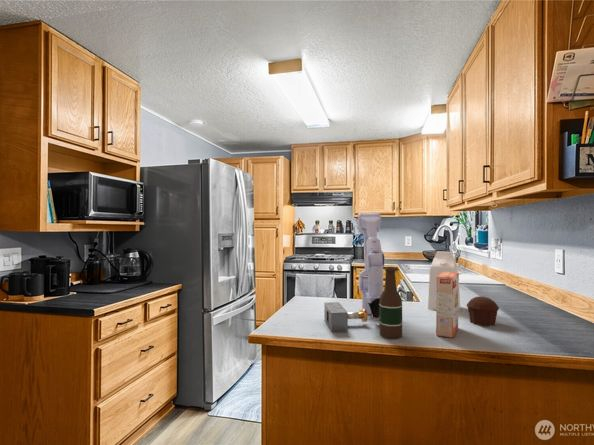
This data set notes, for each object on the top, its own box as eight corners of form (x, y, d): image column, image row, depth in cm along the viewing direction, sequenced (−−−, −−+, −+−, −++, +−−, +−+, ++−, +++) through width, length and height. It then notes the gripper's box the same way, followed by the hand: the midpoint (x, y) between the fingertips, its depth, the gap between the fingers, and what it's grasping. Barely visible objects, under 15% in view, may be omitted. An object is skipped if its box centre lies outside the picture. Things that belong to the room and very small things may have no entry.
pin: (363, 319, 137) (363, 307, 137) (367, 323, 132) (367, 310, 132) (338, 320, 136) (337, 308, 136) (340, 324, 131) (340, 311, 131)
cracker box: (454, 339, 117) (454, 277, 117) (435, 336, 120) (435, 276, 120) (459, 328, 129) (459, 272, 129) (442, 325, 132) (442, 271, 132)
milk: (460, 306, 160) (459, 251, 160) (456, 312, 151) (456, 253, 150) (433, 303, 167) (432, 250, 167) (427, 308, 157) (427, 252, 157)
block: (338, 319, 141) (338, 302, 141) (347, 331, 126) (347, 312, 126) (324, 319, 141) (324, 302, 141) (331, 332, 125) (331, 312, 125)
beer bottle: (402, 333, 123) (402, 266, 123) (402, 340, 116) (401, 269, 116) (380, 331, 126) (380, 265, 126) (378, 338, 118) (377, 268, 118)
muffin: (503, 328, 128) (503, 301, 128) (471, 326, 130) (471, 300, 130) (493, 319, 139) (493, 294, 139) (463, 317, 142) (463, 293, 142)
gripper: (373, 279, 143) (373, 312, 143) (358, 285, 131) (358, 320, 131) (389, 281, 139) (390, 314, 139) (375, 286, 127) (376, 323, 127)
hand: (375, 317), depth 135 cm, fingers closed
